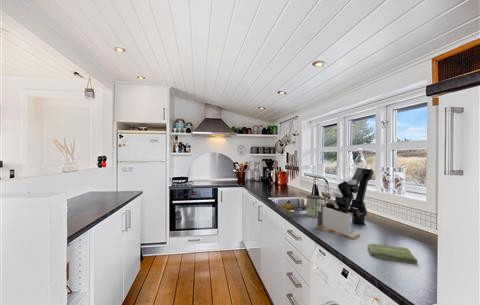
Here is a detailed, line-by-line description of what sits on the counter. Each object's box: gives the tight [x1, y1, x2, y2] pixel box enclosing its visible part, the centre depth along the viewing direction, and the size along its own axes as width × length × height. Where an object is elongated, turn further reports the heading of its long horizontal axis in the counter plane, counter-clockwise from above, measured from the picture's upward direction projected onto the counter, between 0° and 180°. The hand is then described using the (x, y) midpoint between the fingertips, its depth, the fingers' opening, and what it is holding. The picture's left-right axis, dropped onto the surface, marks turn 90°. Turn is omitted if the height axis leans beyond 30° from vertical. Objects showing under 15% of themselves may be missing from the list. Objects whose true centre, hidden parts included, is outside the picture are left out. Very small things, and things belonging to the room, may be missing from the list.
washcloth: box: [367, 243, 418, 265], centre depth 103 cm, size 13×18×3 cm
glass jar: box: [305, 194, 322, 218], centre depth 167 cm, size 10×10×14 cm
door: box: [321, 206, 351, 236], centre depth 130 cm, size 20×1×11 cm, turn 25°
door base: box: [314, 209, 361, 240], centre depth 132 cm, size 23×8×10 cm, turn 41°
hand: (336, 221), depth 130 cm, fingers closed
